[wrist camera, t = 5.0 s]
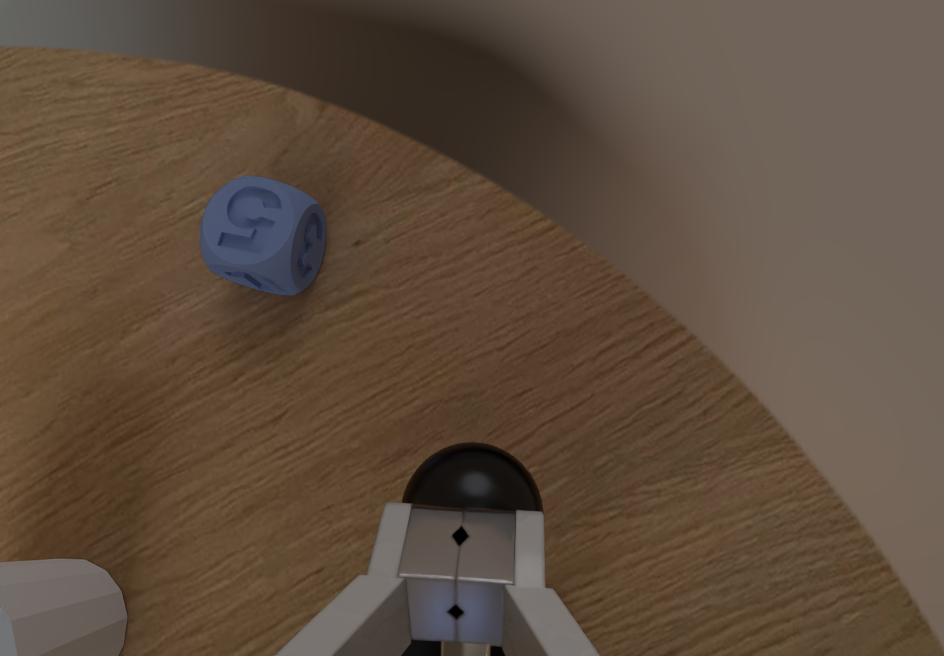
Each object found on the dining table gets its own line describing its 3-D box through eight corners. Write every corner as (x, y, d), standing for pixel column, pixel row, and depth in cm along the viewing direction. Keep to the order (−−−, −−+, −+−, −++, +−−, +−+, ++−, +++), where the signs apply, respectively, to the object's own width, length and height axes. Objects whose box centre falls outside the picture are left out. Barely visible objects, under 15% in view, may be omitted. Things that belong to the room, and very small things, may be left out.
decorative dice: (229, 284, 30) (187, 256, 26) (254, 206, 30) (217, 167, 26) (310, 301, 29) (280, 276, 25) (334, 222, 30) (308, 185, 26)
